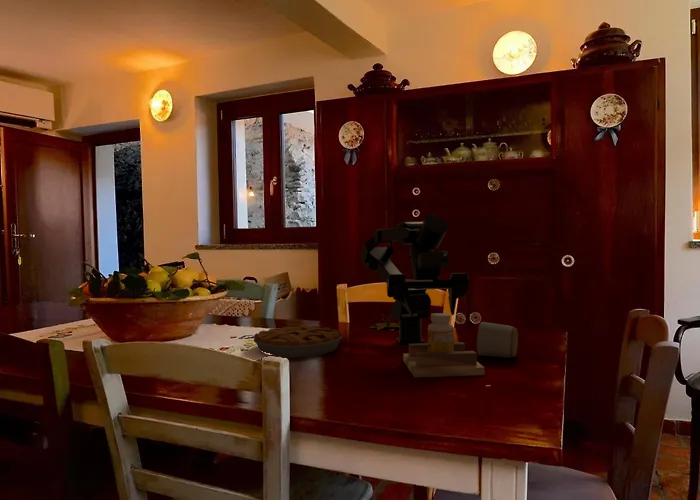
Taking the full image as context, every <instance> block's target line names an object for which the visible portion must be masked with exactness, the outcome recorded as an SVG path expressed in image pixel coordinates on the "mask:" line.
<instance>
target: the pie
mask: <svg viewBox="0 0 700 500" xmlns="http://www.w3.org/2000/svg"><path fill="white" fill-rule="evenodd" d="M342 339H343V335H342V334H341V331H339V330H338V329H336V328H332V329H331V328H330V327H327V326H324V327H322V326H321V327H319V326H318V325H311V326H309V325H303V324H300V325H296V326H290V325H286V326H282V327H281V328H276V327H275V328H270V329H268V330H260V331H259V332H258V333H257V332H256V333H255V334H254V337H253V343H255V344H256V345H257V347H258V349H259V351H260V350H261V351H263V352H266V353H270V354H274V355H275V356H281V357H280V358H282V357H285V358H284V359H296V358H297V359H298V358H300V359H301V358H311V357H315V356H321V355H325V354H329V353H332V352H334V351H336V350H337V349H338V346H339V344H340V342H341V340H342ZM261 351H260V352H261Z"/></svg>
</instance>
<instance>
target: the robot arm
mask: <svg viewBox="0 0 700 500" xmlns="http://www.w3.org/2000/svg"><path fill="white" fill-rule="evenodd" d="M447 231H449V226H448V223H447V222H446V221H444V220H443V219H442V218H440V217H437V216H436V215H435V213H426V215H425V217H424V220H423V221H401V222H400V223H398V224H396V227H391V228H376V229H375V230H373V234H372V236H371V237H370V238H369V239H368V240H367V241H365V243H364V244H363V248H362V251H361V254H360V255H361V256H360V258H361V262H362V263H363V265H364V266H365V267H366V268H367V269H369V270H371V271H375V272H377V273H378V274H379V276H380V277H381V278H382V280H383V281H384V282H385V284H386V295H387V297H388V298H392V299H393V300H395V301H394V303H393V305H392V308H390V316H391V315H392V316H391V317H392V318H391V319H394V320H397V321H398V325H399V328H398V329H399V331H398V332H399V336H398V337H396V341H397V342H398V343H399V344H400V345H409V344H420V343H426V341H425V340H424V339H423V337H422V319H429V317H430V311H431V305H432V299H431V296H430V295H429V293H428V292H427V290H447V291H448V292H447V293H448V297H447V298H448V304H449V310H450V315H451V316H454V315H455V312H456V307H457V306H456V305H457V299H461V298H462V297H463V296H466V295H467V292H468V288H469V285H470V283H471V280H470V277H469V274H467V272H452V273H450V275H449V279H440V278H439V276H441V275H442V272H441V270H442V269H441V267H442V266H443V267H445V266H446V267H447V266H448V265H449V263H450V256H449V251H448V250H439V251H434V250H435V249H438V248H439V246H440V245H441V243H442V242H443V239H444V238H445V236H446V234H447V233H448V232H447ZM393 242H396V243H397V244H401V245H410V246H409V248H408V249H409V253H408V257H407V258H408V259H410V263H411V269H412V276H413V279H412V278H411V279H410V278H409V279H407V278H406V274H405V273H402V272H400V270H399V269H398V268H397V267H396V266H395V264H394V263H393V262H392V257H393V256H394V252H395V251H394V250H395V249H394V248H393V245H392V244H393ZM384 243H386V244H387V243H388V244H387V246H378V245H379V244H384Z"/></svg>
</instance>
